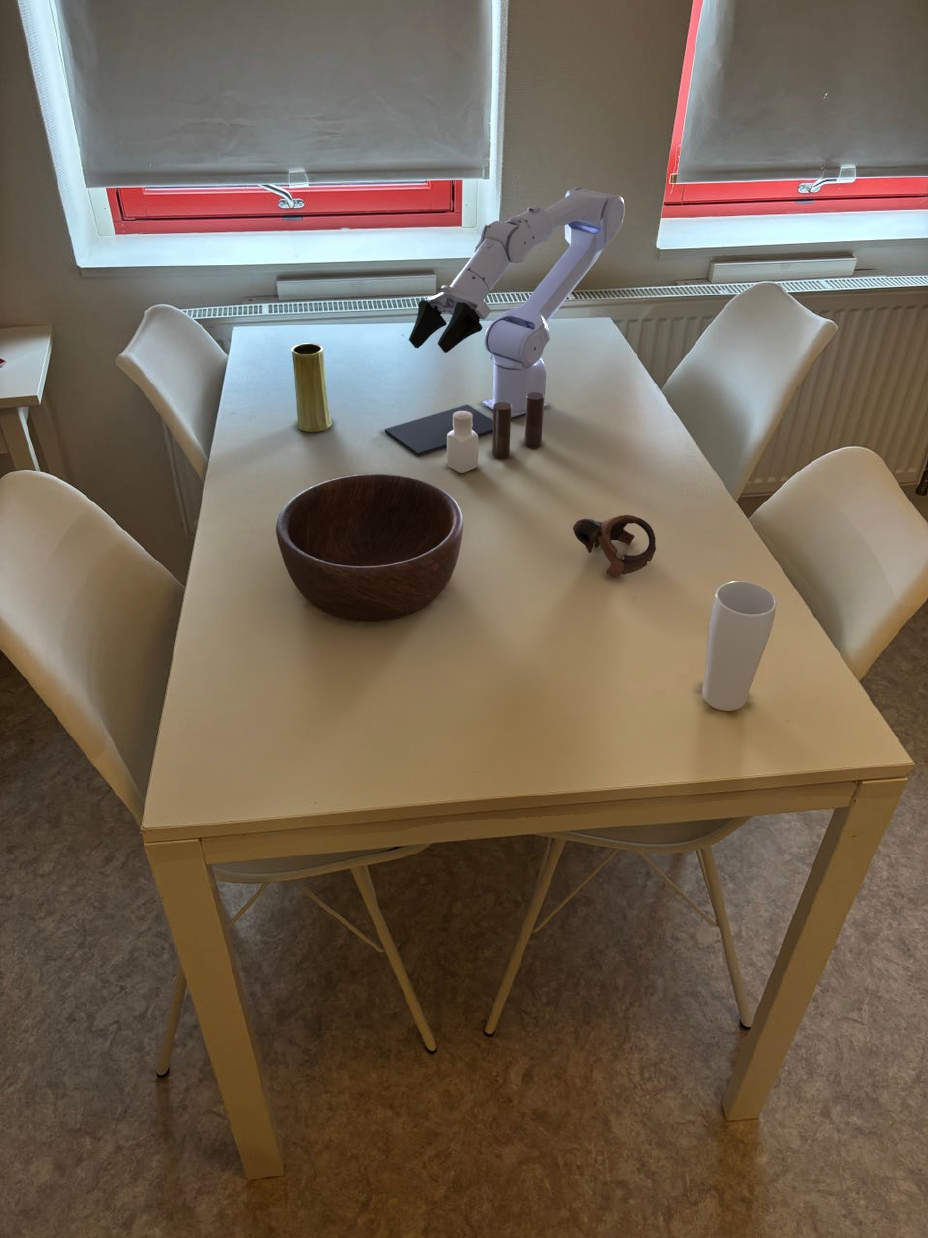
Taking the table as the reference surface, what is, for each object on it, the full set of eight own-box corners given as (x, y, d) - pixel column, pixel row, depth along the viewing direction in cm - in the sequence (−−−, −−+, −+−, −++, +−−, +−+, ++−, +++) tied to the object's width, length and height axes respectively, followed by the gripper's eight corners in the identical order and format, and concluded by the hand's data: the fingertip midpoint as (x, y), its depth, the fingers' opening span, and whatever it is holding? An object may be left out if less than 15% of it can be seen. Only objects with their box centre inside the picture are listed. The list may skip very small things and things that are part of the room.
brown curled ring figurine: (649, 545, 143) (667, 518, 135) (635, 599, 139) (653, 575, 131) (573, 519, 143) (587, 491, 135) (556, 572, 139) (570, 547, 131)
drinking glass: (688, 681, 118) (707, 581, 109) (742, 678, 118) (765, 578, 109) (703, 719, 112) (725, 617, 103) (760, 716, 113) (786, 614, 104)
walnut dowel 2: (534, 438, 169) (536, 390, 164) (545, 444, 167) (548, 396, 162) (520, 442, 168) (523, 394, 162) (531, 449, 166) (533, 400, 160)
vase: (334, 418, 175) (328, 342, 166) (327, 433, 170) (320, 356, 162) (301, 416, 176) (293, 341, 167) (293, 431, 171) (285, 354, 162)
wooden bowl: (264, 554, 140) (255, 492, 133) (424, 519, 148) (423, 459, 141) (312, 655, 121) (304, 589, 115) (492, 608, 129) (494, 544, 123)
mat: (467, 407, 179) (467, 404, 179) (502, 429, 172) (502, 426, 172) (384, 432, 171) (384, 428, 171) (418, 456, 164) (418, 453, 163)
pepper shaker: (461, 475, 158) (461, 422, 153) (445, 466, 161) (445, 414, 155) (479, 467, 161) (480, 415, 155) (463, 459, 163) (463, 407, 157)
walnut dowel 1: (502, 448, 166) (504, 400, 161) (513, 455, 164) (514, 406, 159) (488, 453, 165) (489, 404, 159) (498, 460, 163) (500, 411, 157)
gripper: (433, 262, 160) (386, 324, 157) (491, 265, 149) (441, 332, 147) (456, 294, 164) (411, 354, 162) (513, 299, 154) (466, 363, 152)
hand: (427, 346), depth 155 cm, fingers open, 7 cm apart
